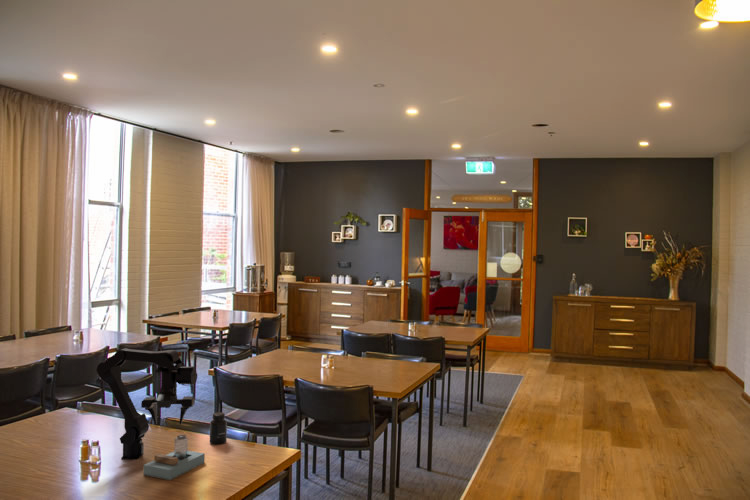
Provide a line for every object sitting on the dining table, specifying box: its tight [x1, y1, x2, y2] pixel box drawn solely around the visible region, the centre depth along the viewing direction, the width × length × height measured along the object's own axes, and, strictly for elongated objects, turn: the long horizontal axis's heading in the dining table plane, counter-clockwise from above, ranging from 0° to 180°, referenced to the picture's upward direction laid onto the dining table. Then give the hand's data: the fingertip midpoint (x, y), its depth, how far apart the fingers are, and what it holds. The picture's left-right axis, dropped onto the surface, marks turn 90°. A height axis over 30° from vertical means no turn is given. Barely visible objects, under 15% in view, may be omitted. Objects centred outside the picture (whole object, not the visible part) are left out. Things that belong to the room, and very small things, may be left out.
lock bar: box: [153, 453, 178, 465], centre depth 202 cm, size 9×2×2 cm, turn 67°
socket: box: [143, 449, 205, 481], centre depth 207 cm, size 12×18×4 cm, turn 157°
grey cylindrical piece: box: [173, 434, 189, 460], centre depth 210 cm, size 5×5×10 cm
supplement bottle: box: [209, 412, 228, 446], centre depth 235 cm, size 7×7×12 cm
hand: (168, 424), depth 217 cm, fingers open, 9 cm apart
